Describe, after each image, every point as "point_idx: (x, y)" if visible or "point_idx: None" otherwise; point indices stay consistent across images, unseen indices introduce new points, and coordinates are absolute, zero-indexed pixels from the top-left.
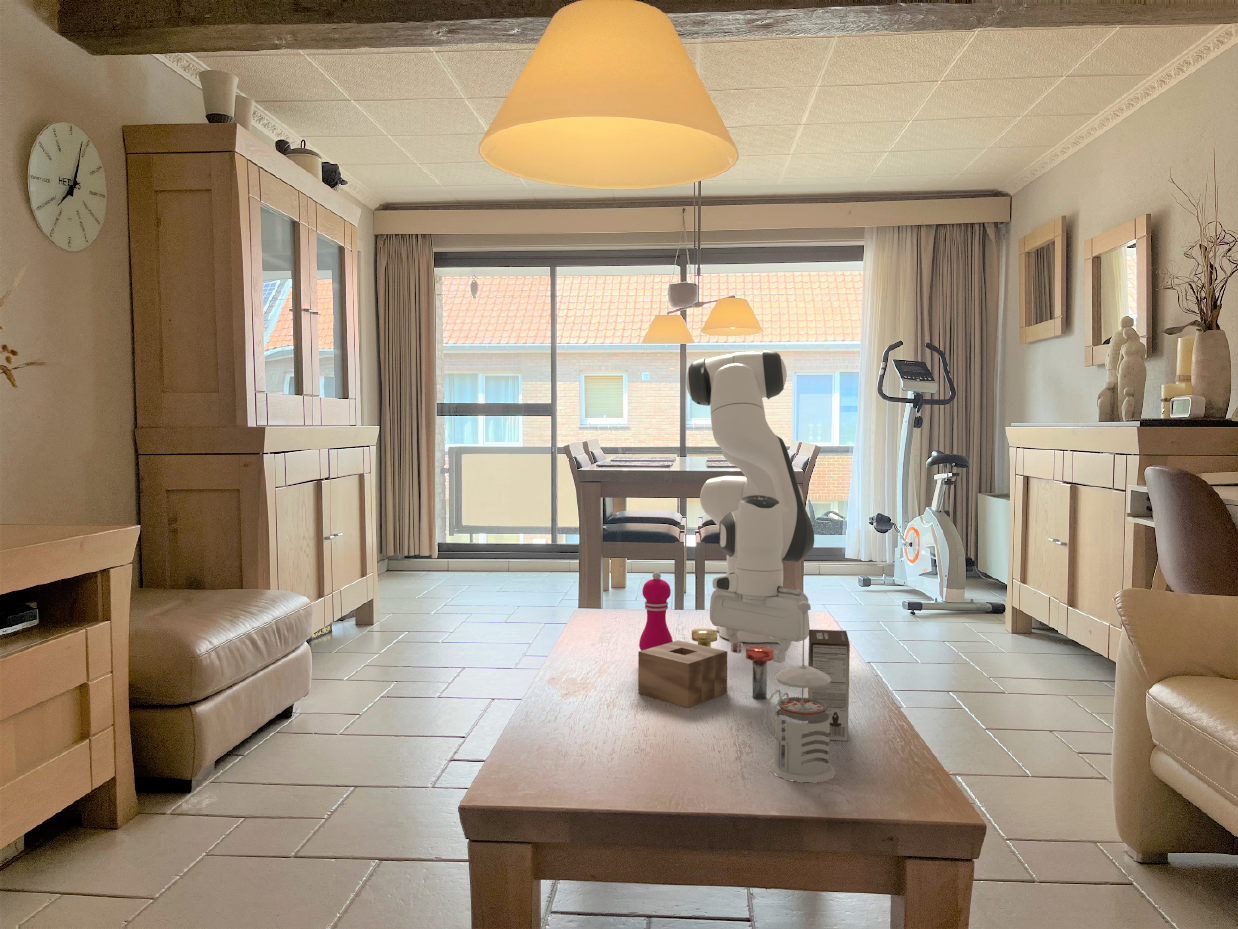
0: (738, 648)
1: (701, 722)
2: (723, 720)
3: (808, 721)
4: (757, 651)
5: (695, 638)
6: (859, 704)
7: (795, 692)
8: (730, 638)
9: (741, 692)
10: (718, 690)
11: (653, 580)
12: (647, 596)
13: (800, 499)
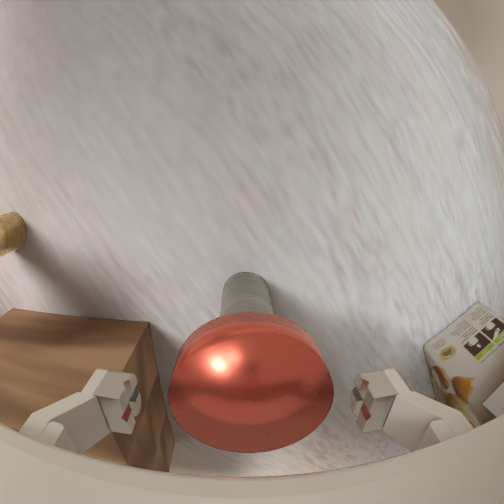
0: (129, 407)
1: (249, 469)
2: (275, 449)
3: (432, 373)
4: (266, 438)
5: None
6: (473, 154)
7: (307, 162)
8: (85, 445)
9: (173, 289)
10: (151, 367)
11: None
12: None
13: None
